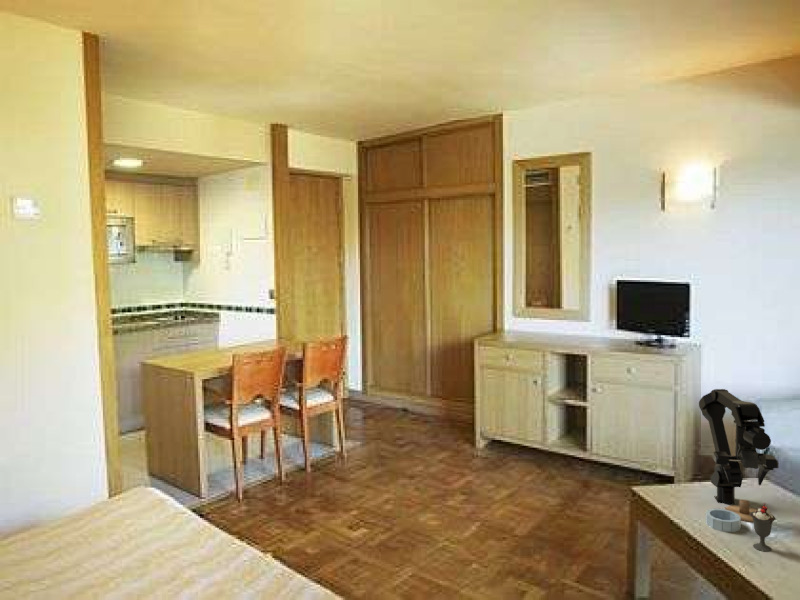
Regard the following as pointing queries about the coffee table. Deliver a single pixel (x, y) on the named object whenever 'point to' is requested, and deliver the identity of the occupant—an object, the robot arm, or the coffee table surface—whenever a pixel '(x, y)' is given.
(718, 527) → the bowl
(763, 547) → the sundae
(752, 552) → the coffee table surface
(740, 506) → the lid
